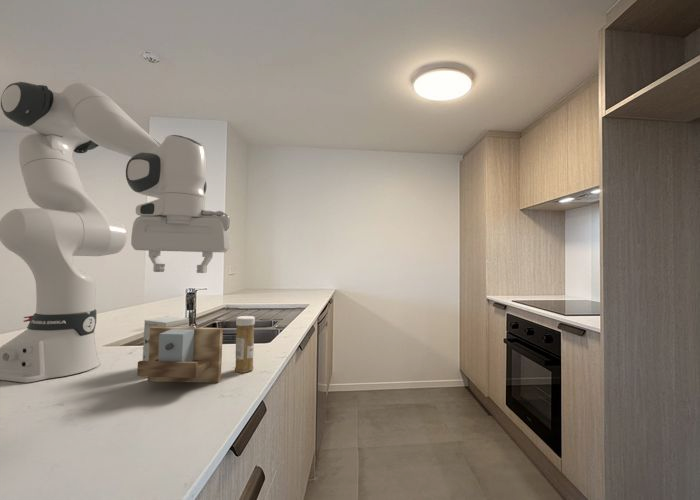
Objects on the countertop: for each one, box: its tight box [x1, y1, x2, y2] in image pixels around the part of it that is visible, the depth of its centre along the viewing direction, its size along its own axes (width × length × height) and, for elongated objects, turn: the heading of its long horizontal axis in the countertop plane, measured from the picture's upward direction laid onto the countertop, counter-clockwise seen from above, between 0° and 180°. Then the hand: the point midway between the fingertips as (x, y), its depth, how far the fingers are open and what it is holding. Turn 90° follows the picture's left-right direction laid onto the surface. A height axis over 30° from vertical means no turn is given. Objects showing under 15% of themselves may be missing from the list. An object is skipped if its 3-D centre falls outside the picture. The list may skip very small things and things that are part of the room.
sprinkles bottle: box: [234, 315, 256, 374], centre depth 83 cm, size 5×5×14 cm
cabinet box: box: [158, 329, 194, 362], centre depth 71 cm, size 5×6×7 cm
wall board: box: [136, 326, 224, 384], centre depth 71 cm, size 16×8×12 cm, turn 90°
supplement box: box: [142, 315, 190, 361], centre depth 83 cm, size 7×7×13 cm
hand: (180, 272), depth 72 cm, fingers open, 8 cm apart
